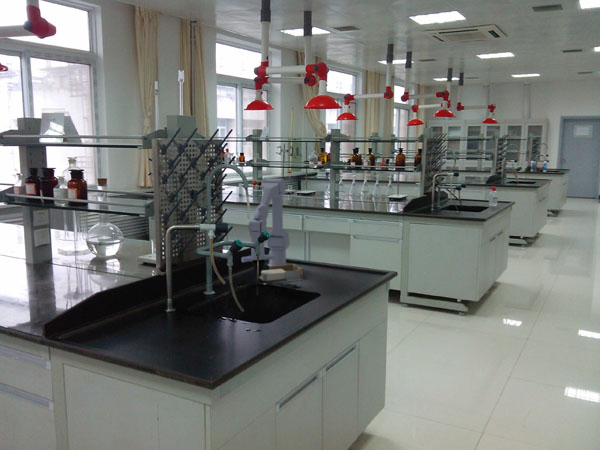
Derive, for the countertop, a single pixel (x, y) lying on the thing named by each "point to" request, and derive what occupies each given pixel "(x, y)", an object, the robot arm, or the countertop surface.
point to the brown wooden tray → (288, 268)
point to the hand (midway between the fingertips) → (258, 276)
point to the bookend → (293, 275)
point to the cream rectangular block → (272, 274)
